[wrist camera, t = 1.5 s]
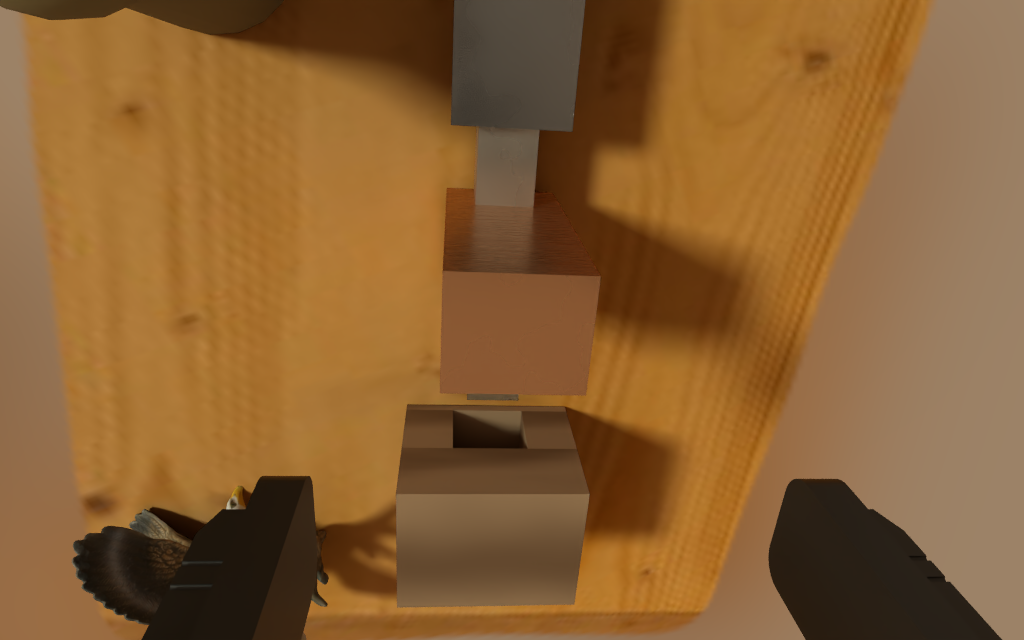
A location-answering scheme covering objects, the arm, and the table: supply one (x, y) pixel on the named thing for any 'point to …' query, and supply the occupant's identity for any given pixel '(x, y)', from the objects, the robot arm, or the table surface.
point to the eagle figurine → (145, 563)
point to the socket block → (489, 507)
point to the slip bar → (513, 281)
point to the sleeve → (516, 63)
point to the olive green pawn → (158, 11)
